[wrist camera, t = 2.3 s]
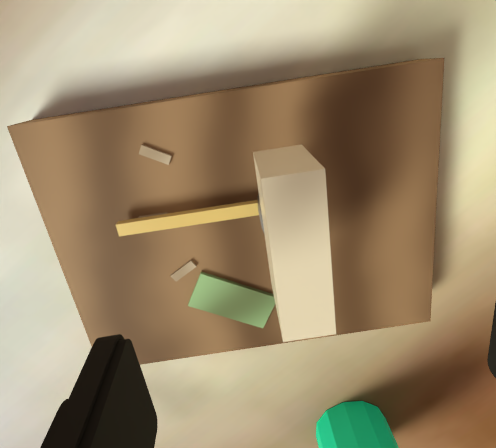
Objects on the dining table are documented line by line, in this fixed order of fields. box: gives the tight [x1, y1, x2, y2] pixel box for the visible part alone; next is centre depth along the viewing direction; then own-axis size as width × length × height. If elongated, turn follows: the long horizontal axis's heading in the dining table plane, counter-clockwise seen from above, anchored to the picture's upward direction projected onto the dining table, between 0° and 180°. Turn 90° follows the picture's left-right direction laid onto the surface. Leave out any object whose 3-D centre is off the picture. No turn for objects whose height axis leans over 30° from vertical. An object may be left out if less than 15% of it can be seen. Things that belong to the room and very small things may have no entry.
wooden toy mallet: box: [116, 145, 336, 342], centre depth 17 cm, size 10×7×7 cm
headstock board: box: [7, 58, 444, 364], centre depth 23 cm, size 22×16×3 cm
